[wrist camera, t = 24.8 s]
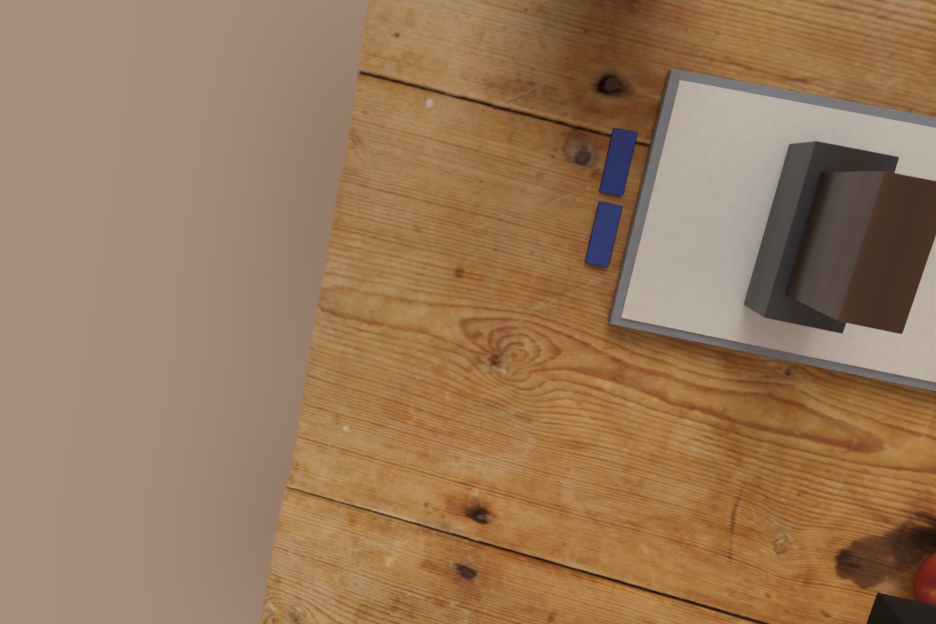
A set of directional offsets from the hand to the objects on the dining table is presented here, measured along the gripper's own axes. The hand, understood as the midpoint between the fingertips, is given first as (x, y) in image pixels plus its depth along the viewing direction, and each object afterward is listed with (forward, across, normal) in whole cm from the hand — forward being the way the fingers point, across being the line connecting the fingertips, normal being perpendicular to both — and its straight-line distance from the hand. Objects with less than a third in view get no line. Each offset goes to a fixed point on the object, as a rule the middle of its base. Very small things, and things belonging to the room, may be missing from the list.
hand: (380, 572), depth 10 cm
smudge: (+36, +6, +3) cm, 37 cm away
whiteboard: (+37, +20, +5) cm, 42 cm away
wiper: (+35, +18, +5) cm, 40 cm away
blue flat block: (+36, +6, +7) cm, 38 cm away
